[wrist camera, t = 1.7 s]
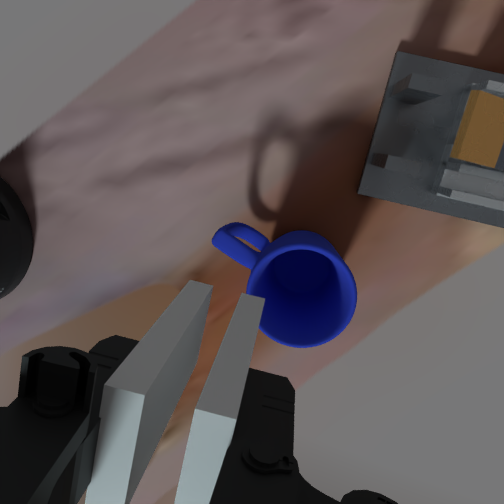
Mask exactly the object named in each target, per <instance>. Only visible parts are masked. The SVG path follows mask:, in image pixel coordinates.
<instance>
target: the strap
mask: <svg viewBox="0 0 504 504" xmlns="http://www.w3.org/2000/svg"><path fill="white" fill-rule="evenodd" d="M450 157H452V158H455V159H459V160H463V161H467V162H471V163H475V164H479V165H482V166H486V167H490V168H494V169H498V170H502V171H504V99H503V98H501V97H498V96H495V95H492V94H490V93H487V92H484V91H481V90H471V92H470V95H469V98H468V101H467V105H466V108H465V111H464V114H463V117H462V120H461V123H460V126H459V129H458V132H457V135H456V138H455V142H454V145H453V148H452V151H451V154H450Z"/></svg>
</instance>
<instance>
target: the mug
mask: <svg viewBox="0 0 504 504" xmlns="http://www.w3.org/2000/svg"><path fill="white" fill-rule="evenodd" d="M234 236H236V237H240V238H242V239H244V240H246V241H248V242H249V243H251V244H252V245H254V246H255V247H257V248H258V249H259V250H260V251H261V252H257V251H255V250H253V249H252V248H250V247H249V246H247V245H246V244H244V243H243V242H241V241H240V240H239V239H237V238H236V237H234ZM212 244H213V245H214V246H215V247H217V248H218V249H219V250H221V251H222V252H223V253H225V254H226V255H228V256H229V257H231V258H232V259H234V260H235V261H237V262H239V263H240V264H242V265H244V266H246V267H248V268H249V269H251V274H250V277H249V280H248V284H247V291H246V294H248V295H252V296H256V297H260V298H264V299H265V302H264V306H263V311H262V315H261V319H260V323H259V327H258V328H259V329H260V330H261V331H262V332H263V333H264V334H266V335H267V336H268V337H269V338H271V339H273V340H274V341H276V342H278V343H280V344H283V345H286V346H291V347H297V348H307V347H314V346H318V345H321V344H324V343H326V342H328V341H330V340H332V339H333V338H335V337H336V336H338V335H339V334H340V333H341V332H342V331H343V330H344V329H345V328H346V326H347V325H348V324H349V322H350V320H351V318H352V317H353V314H354V311H355V308H356V303H357V288H356V283H355V280H354V277H353V275H352V273H351V271H350V269H349V267H348V266H347V265H346V263H345V262H344V260H343V259H342V258H341V256H340V255H339V254H338V252H337V251H336V250H335V248H334V247H333V246H332V244H331V243H330V242H329V241H328V240H327V239H325V238H324V237H322V236H321V235H319V234H317V233H314V232H311V231H304V230H298V231H292V232H289V233H286V234H284V235H282V236H280V237H279V238H277V239H276V240H275V241H273V242H272V243H270V242H269V240H268V239H267V238H266V237H265V236H264V235H262V234H261V233H260V232H258V231H257V230H255V229H254V228H252V227H250V226H248V225H246V224H243V223H239V222H234V223H229V224H227V225H225V226H223V227H221V228H220V229H218V231H217V232H216V233H215V235H214V236H213V238H212Z"/></svg>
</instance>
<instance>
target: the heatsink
mask: <svg viewBox="0 0 504 504" xmlns="http://www.w3.org/2000/svg"><path fill="white" fill-rule="evenodd" d="M471 90H481V91H484V92H487V93H490V94H492V95H495V96H498V97H501V98H503V99H504V74H500V73H495V72H491V71H486V70H482V69H477V68H473V67H468V66H464V65H459V64H455V63H450V62H445V61H441V60H436V59H432V58H427V57H423V56H418V55H414V54H409V53H404V52H400V51H397V52H396V53H395V57H394V61H393V64H392V68H391V71H390V75H389V78H388V82H387V86H386V89H385V93H384V96H383V100H382V103H381V107H380V111H379V114H378V118H377V121H376V125H375V128H374V132H373V135H372V139H371V143H370V146H369V150H368V153H367V157H366V160H365V164H364V168H363V171H362V175H361V178H360V182H359V185H358V189H357V193H358V194H362V195H366V196H370V197H374V198H379V199H383V200H387V201H391V202H396V203H400V204H404V205H408V206H413V207H417V208H421V209H425V210H429V211H434V212H438V213H442V214H446V215H451V216H455V217H459V218H463V219H468V220H472V221H476V222H480V223H485V224H489V225H493V226H497V227H502V228H504V171H502V170H498V169H494V168H490V167H486V166H482V165H479V164H475V163H471V162H467V161H463V160H459V159H455V158H452V157H450V154H451V151H452V148H453V145H454V142H455V138H456V135H457V132H458V129H459V126H460V123H461V120H462V117H463V114H464V111H465V108H466V105H467V101H468V98H469V95H470V92H471Z"/></svg>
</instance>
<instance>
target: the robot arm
mask: <svg viewBox="0 0 504 504" xmlns="http://www.w3.org/2000/svg"><path fill="white" fill-rule="evenodd" d="M31 255H32V231H31V226H30V222H29V219H28V216H27V213H26V211H25V209H24V206H23V204H22V203H21V201H20V199H19V198H18V196H17V195H16V193H15V192H14V191H13V189H12V188H11V187H10V186H9V185H8V184H7V183H6V182H5V181H4V180H3V179H2V178H1V177H0V299H1V298H3V297H4V296H6V295H7V294H9V293H10V292H11V291H13V290H14V289H15V288H16V287H17V286H18V284H19V283H20V282H21V280H22V279H23V277H24V276H25V274H26V272H27V269H28V267H29V264H30V260H31ZM212 289H213V286H212V285H208V284H204V283H200V282H196V281H192V280H190V281H189V282H188V283H187V284H186V285H185V287H184V288H183V289H182V290H181V292H180V293H179V294H178V295H177V296H176V298H175V299H174V300H173V301H172V303H171V304H170V305H169V306H168V307H167V309H166V310H165V311H164V312H163V313H162V315H161V316H160V317H159V318H158V320H157V321H156V322H155V323H154V325H153V326H152V327H151V328H150V330H149V331H148V332H147V333H146V334H145V335H144V337H143V338H142V339H141V340H140V341H137V340H133V339H129V338H125V337H121V336H118V335H114V336H111V337H109V338H106V339H104V340H101V341H99V342H98V343H97V344H96V345H95V346H94V347H93V348H92V349H91V350H90V351H89V353H87V352H84V351H82V350H79V349H76V348H70V347H63V346H55V347H44V348H40V349H36V350H32V351H30V352H29V353H27V354H25V355H23V356H22V363H21V372H20V381H19V390H18V397H17V398H16V399H15V400H14V401H13V402H12V403H11V404H10V405H9V406H8V407H0V504H77V503H78V502H79V500H80V498H81V497H82V495H83V494H84V492H85V490H86V489H87V494H86V500H85V504H129V503H130V501H131V499H132V497H133V495H134V493H135V490H136V488H137V486H138V484H139V482H140V480H141V478H142V476H143V474H144V472H145V470H146V468H147V465H148V463H149V461H150V459H151V457H152V455H153V453H154V451H155V449H156V447H157V445H158V443H159V440H160V438H161V436H162V434H163V432H164V430H165V428H166V426H167V424H168V422H169V420H170V418H171V415H172V413H173V411H174V409H175V407H176V405H177V403H178V401H179V399H180V397H181V395H182V393H183V390H184V388H185V386H186V384H187V382H188V380H189V378H190V376H191V374H192V372H193V370H194V368H195V365H196V363H197V359H198V355H199V350H200V345H201V341H202V336H203V331H204V327H205V322H206V317H207V313H208V308H209V303H210V299H211V294H212ZM264 302H265V299H264V298H260V297H256V296H252V295H248V294H244V293H242V294H241V296H240V298H239V301H238V303H237V306H236V308H235V311H234V313H233V316H232V318H231V321H230V323H229V326H228V328H227V331H226V333H225V336H224V338H223V341H222V343H221V346H220V348H219V351H218V353H217V356H216V358H215V360H214V363H213V365H212V368H211V370H210V373H209V375H208V378H207V380H206V383H205V385H204V388H203V390H202V393H201V395H200V398H199V400H198V403H197V405H196V408H195V411H194V416H193V420H192V425H191V430H190V434H189V439H188V443H187V448H186V452H185V457H184V461H183V466H182V471H181V475H180V480H179V484H178V489H177V493H176V498H175V503H174V504H398V503H397V502H395V501H393V500H391V499H390V498H388V497H386V496H384V495H382V494H379V493H376V492H372V491H368V490H353V491H351V492H350V493H348V494H345V495H344V496H343V498H342V500H341V502H339V501H337V500H335V499H333V498H331V497H329V496H327V495H325V494H324V493H322V492H320V491H319V490H317V489H315V488H314V487H313V486H311V485H310V484H309V483H308V482H307V481H306V480H305V479H304V478H303V477H302V476H301V474H300V473H299V468H298V463H297V460H296V459H295V457H294V456H293V442H294V407H295V406H294V403H295V390H294V388H293V386H292V385H291V383H290V381H289V380H288V378H287V377H283V376H279V375H275V374H271V373H267V372H263V371H260V370H256V369H252V368H249V365H250V361H251V357H252V353H253V349H254V344H255V340H256V336H257V332H258V327H259V323H260V319H261V315H262V311H263V306H264ZM87 487H88V488H87Z"/></svg>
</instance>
